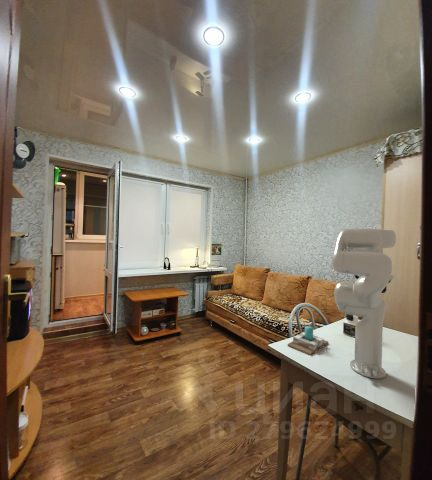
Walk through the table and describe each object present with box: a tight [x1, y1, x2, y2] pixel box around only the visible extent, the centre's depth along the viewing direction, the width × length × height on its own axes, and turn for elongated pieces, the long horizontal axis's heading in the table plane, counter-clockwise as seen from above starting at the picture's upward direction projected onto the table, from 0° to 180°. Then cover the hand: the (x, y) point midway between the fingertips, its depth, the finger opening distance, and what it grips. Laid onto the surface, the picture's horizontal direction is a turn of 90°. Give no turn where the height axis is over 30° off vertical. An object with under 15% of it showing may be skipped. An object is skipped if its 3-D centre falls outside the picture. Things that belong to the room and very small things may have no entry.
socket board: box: [287, 331, 329, 356], centre depth 117 cm, size 20×12×4 cm, turn 131°
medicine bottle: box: [342, 314, 359, 338], centre depth 131 cm, size 7×7×12 cm
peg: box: [304, 325, 314, 341], centre depth 117 cm, size 4×4×8 cm
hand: (371, 290), depth 111 cm, fingers open, 9 cm apart
